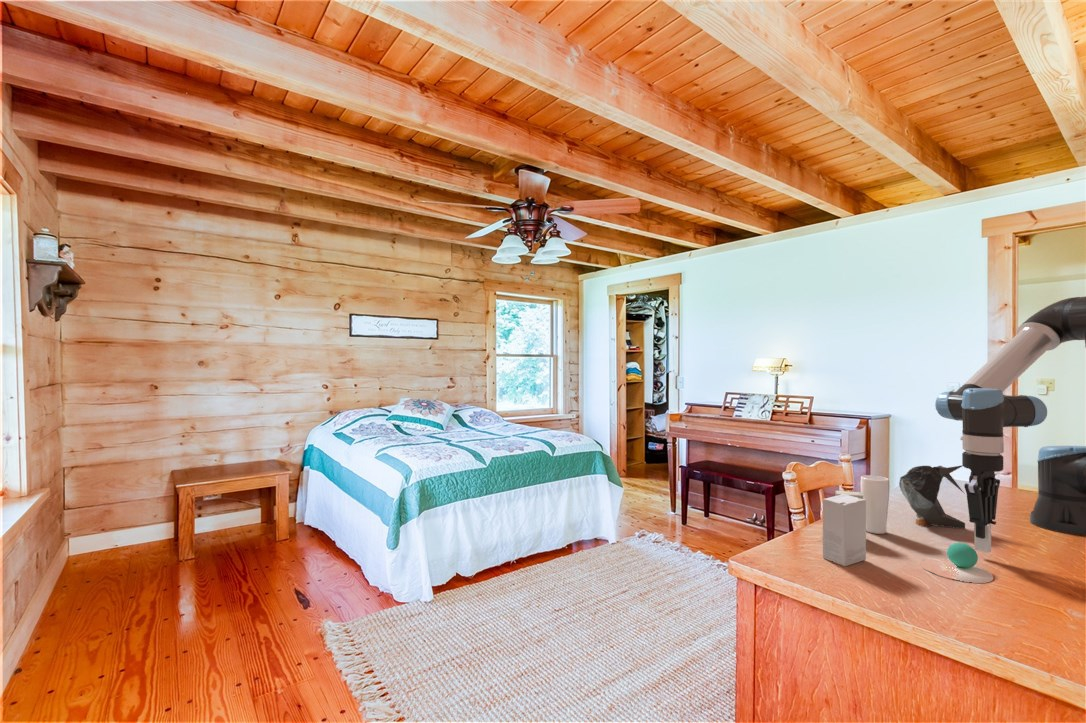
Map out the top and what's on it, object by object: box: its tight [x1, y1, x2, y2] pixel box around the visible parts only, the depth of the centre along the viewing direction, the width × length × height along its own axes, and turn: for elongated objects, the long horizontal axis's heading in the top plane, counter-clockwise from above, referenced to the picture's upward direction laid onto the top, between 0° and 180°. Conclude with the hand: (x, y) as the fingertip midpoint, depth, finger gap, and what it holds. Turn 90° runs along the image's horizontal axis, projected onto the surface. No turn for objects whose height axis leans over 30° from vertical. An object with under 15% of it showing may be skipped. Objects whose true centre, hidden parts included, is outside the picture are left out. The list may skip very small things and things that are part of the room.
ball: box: [946, 542, 979, 568], centre depth 118 cm, size 6×6×6 cm
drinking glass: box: [860, 474, 890, 535], centre depth 143 cm, size 7×7×15 cm
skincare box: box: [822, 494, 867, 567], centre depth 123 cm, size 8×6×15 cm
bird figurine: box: [898, 465, 966, 530], centre depth 149 cm, size 14×15×18 cm
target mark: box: [946, 565, 994, 584], centre depth 116 cm, size 13×13×1 cm
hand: (982, 550), depth 123 cm, fingers closed
